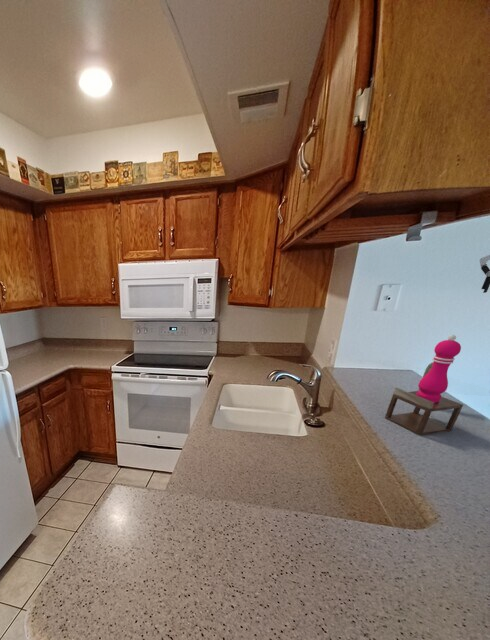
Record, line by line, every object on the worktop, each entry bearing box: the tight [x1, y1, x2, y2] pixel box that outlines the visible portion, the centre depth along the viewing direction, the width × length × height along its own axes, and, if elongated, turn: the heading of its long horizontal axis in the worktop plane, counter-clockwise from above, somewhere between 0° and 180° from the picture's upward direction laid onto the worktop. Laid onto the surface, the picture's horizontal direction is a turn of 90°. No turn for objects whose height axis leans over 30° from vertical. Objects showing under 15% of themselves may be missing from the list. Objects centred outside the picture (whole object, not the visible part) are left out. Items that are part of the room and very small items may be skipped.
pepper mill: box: [416, 334, 462, 403], centre depth 100 cm, size 7×7×20 cm
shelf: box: [384, 387, 464, 436], centre depth 106 cm, size 13×13×11 cm
